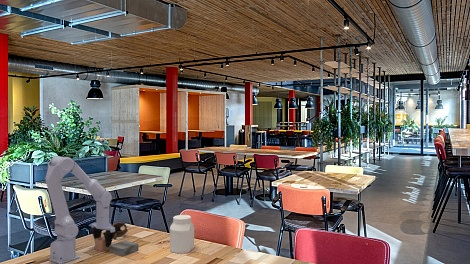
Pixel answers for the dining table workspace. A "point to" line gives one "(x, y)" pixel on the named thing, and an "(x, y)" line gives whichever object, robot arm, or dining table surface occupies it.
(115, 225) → the pottery mug
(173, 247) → the jar
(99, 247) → the terracotta block
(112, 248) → the grey base block
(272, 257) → the dining table surface
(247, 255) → the dining table surface
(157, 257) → the dining table surface
